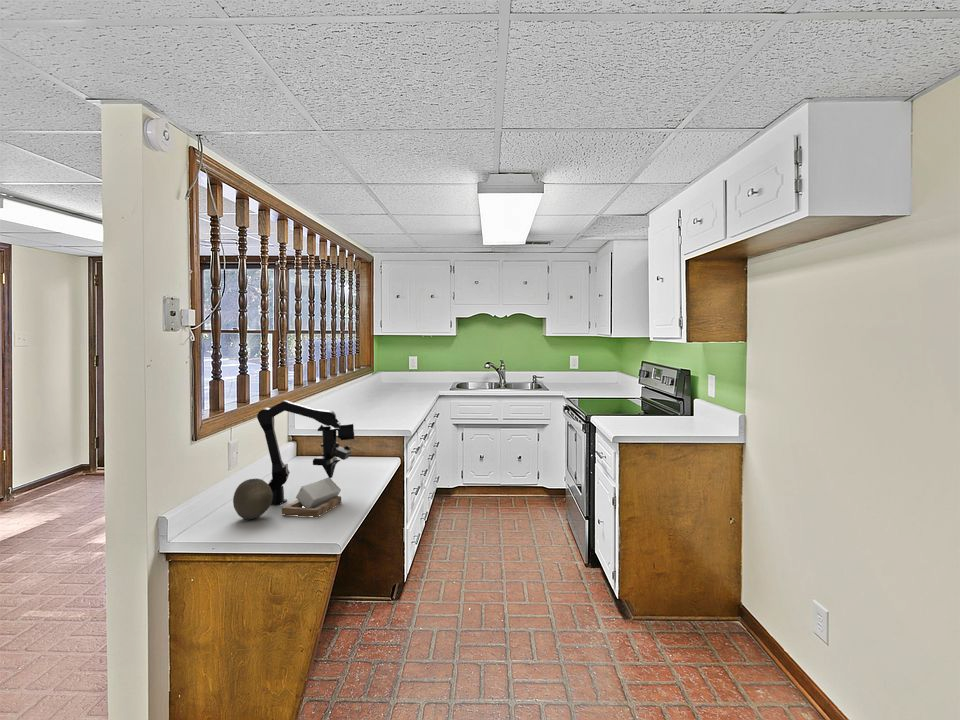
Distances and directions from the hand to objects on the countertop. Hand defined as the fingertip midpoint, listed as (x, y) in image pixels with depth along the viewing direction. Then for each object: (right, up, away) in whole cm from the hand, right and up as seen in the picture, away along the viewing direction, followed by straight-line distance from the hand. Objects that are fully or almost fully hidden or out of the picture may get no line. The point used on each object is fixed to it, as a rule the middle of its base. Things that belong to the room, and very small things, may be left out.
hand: (330, 477), depth 257 cm
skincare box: (+2, -4, -4) cm, 6 cm away
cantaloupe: (-23, -11, -25) cm, 36 cm away
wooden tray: (-3, -10, -13) cm, 17 cm away
